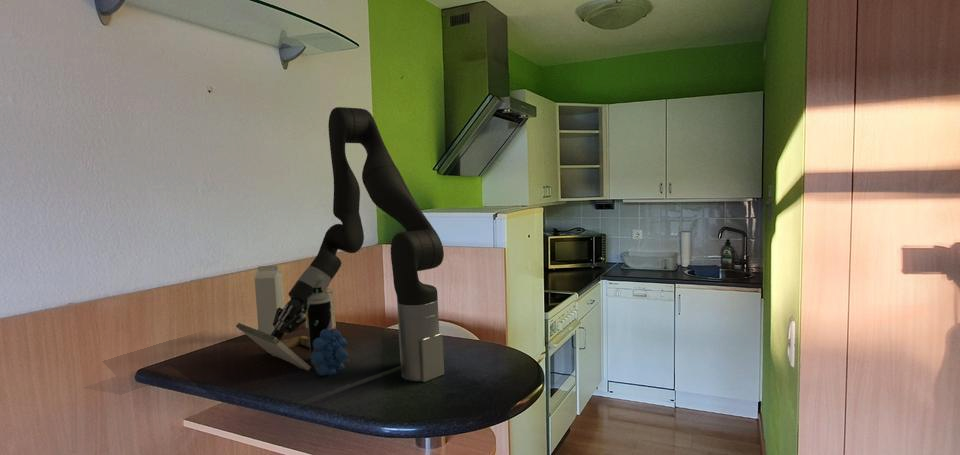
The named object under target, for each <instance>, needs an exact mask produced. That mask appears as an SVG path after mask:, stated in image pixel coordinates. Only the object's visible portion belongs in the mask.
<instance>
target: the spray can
mask: <svg viewBox="0 0 960 455" xmlns="http://www.w3.org/2000/svg"><path fill="white" fill-rule="evenodd" d="M329 297H330V296H329V295H327V294H325V293H324V292H323V290H322V289H321V287H319V288H316V287H314V291H313V293H312V295H310V296H309V297H308V298H307V313H308V328H307V329H308V337H309V342H310V347H309V353H310V357H311V355H312V354H313V353H314V352H315V351H317V350H315V349H314V347H313V341H314V340H315V339H316V338H320V332H321V331H322V330H323V329H328V330H332V318H331V303H330V298H329ZM310 365H313V366H314V363H313V362H312V360H311V359H310Z"/></svg>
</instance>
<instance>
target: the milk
mask: <svg viewBox="0 0 960 455" xmlns="http://www.w3.org/2000/svg"><path fill="white" fill-rule="evenodd" d="M283 282H284V280H283V274H282V273H281V272H280V271H279V266H278V265H261V266H260V265H259V266H257V273H256V275H255V277H254V285H255V286H254V288H255V302H256V315H257V330H259V331H261V332H264V333H266V334H269V335H271V334H272V332H273V331H274V326H273V322H274V318H275V315H276V311H277V309H278V308H279V307H280V308H281V309H283V308H284V307H285V297H284V296H285V294H284V283H283Z"/></svg>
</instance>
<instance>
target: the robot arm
mask: <svg viewBox="0 0 960 455" xmlns="http://www.w3.org/2000/svg"><path fill="white" fill-rule="evenodd" d="M327 128H328V139H329V149H330V158H331V159H330V160H331V166H332V167H331V168H332V175H333V176H332V178H333V204H332V205H333V206H332V213H333V216H334V217H335V218H337V220H339V221H340V222H341V223H335V224H333V225H331V226H330V227H329V228H328V229H327V230H326V231H325V234H324V237H323V239H322V243H321V244H320V248H319V250H318V253H317V254H316V256H315V257H314V259H313V261H312V262H310V264H309V266H308V267H307V268H306V269H305V270H304V271H303V272H302V274H301V276H299V278H298V279H297V281H296V282H295V283H294V285H293V286H292V287H291V289H290V290H289V292H288V296H289V298H290V300H289V301H287V303H286V304H284V306H285V307H284V308H283V309H281V308H280V307H279V308H278V309H277V311H276V315H275V318H274V322H273V326H274V331H273V332H272V334H271V336H274V337H276V338H277V339H279V340H280V341H281V339H282V337H283V336H285V335H286V334H291V333H292V332H294V331H295V330H296V329H297V328H299V327H300V326H301V325H303V324H305V321H306V318H305V315H304V314H305V313H306V311H307V298H308V297H309V296H310V295H312V293H313V291H314V287H316V288H319V287H321V289H322V290H323V292H325V291H326V289H327V288H329V285H330V284H331V282H332V280H333V279H334V277H335V276H336V274H337V273H338V271H339V270H340V268H341V267H342V261H341V259H340V258H339V257H338V256H337V252H338V250H340V251H342V252H345V253H348V254H355V253H357V252H359V251H360V249H361V248H362V246H363V244H364V241H365V234H364V232H365V231H364V226H363V223H362V218H361V215H360V203H361V202H360V200H361V189H360V185H359V181H358V179H357V177H356V176H355V174H354V172H353V170H352V168H351V166H350V164H349V161H348V159H347V154H346V144H360V145H361V146H362V147H363V148H364V149H365V152H366V158H365V161H364V165H363V168H362V173H361V180H362V183H363V186H364V188H365V190H366V192H367V195H369V198H370V200H371V201H372V203H374V205H375V206H376V207H378V208H379V209H380V210H382V211H383V212H384V213H385V214H386V215H388V216H390V217H391V218H392V219H394V220H395V221H397V223H399V225H401V226H402V227H403V229H405V231H401V232H397V233H396V234H395V235H394V236H393V237H392V239H391V243H390V261H391V270H392V277H393V278H392V279H393V280H392V281H393V287H394V290H395V296H396V302H397V305H396V306H397V321H398V322H397V323H398V341H399V342H398V344H399V357H400V376H401V378H403V379H404V380H407V381H412V382H422V383H425V382H428V381H430V380H434V379H436V378H438V377H440V376H442V375H445V365H444V364H445V363H444V342H443V341H444V340H443V339H444V338H443V334H442V333H440V322H439V321H440V319H439V318H440V317H439V301H438V298H439V297H438V295H439V294H438V289H437V288H436V286H434V285H431V284H427V283H423V282H422V281H420V280H419V279H420V278H419V273H418V272H421V271H427V270H432V269H435V268H438V267H439V266H440V265H441V264H442V263H443V261H444V256H445V254H444V252H445V251H444V246H443V243H442V241H441V238H440V237H439V234H438V233H437V231H436V229H434V227H433V225H432V224H431V222H430V221H429V220H428V218H427V217H426V216H425V214H424V213H423V211H422V210H421V208H420V207H419V205H418V204H417V202H416V200H415V198H414V196H413V194H412V193H411V192H410V190H409V188H408V186H407V184H406V181H405V180H404V178H403V176H402V174H401V172H400V170H399V169H398V167H397V166H396V164H395V162H394V160H393V159H392V156H391V155H390V152H389V151H388V149H387V146H386V145H385V143H384V140H383V138H382V136H381V133H380V131H379V128H378V125H377V122H376V121H375V117H374V116H373V115H372V113H371V112H370V111H369V110H368V109H365V108H362V107H361V108H359V107H357V108H356V107H347V106H346V107H345V106H338V107H334V108H333V109H332V110H331V111H330V114H329V118H328V127H327Z"/></svg>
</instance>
